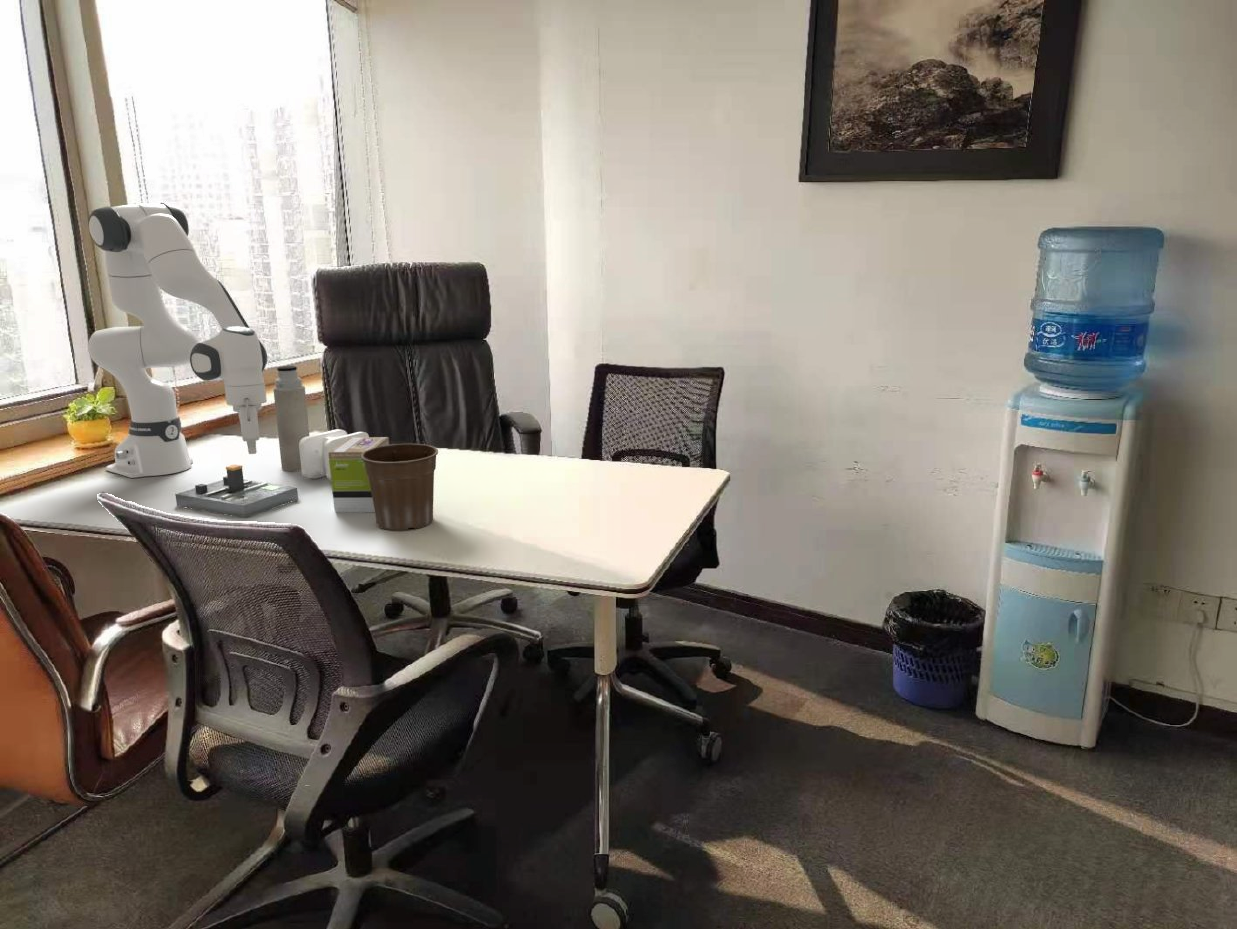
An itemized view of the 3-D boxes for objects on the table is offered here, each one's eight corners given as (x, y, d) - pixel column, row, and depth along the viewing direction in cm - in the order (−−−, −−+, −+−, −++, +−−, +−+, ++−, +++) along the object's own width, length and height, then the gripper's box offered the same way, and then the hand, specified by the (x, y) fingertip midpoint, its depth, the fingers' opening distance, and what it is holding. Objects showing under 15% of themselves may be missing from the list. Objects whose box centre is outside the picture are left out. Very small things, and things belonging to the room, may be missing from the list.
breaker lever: (225, 490, 201) (222, 467, 200) (239, 486, 205) (236, 463, 203) (234, 491, 200) (231, 468, 199) (247, 487, 204) (245, 464, 202)
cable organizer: (329, 486, 217) (324, 442, 214) (300, 481, 222) (296, 437, 219) (372, 473, 230) (369, 430, 227) (345, 468, 235) (341, 426, 232)
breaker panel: (176, 506, 201) (174, 487, 200) (232, 489, 215) (230, 471, 214) (245, 518, 192) (243, 498, 191) (298, 499, 206) (296, 480, 205)
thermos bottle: (300, 462, 241) (290, 363, 234) (318, 466, 237) (309, 365, 230) (275, 468, 234) (264, 367, 227) (294, 472, 230) (283, 369, 223)
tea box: (354, 494, 210) (349, 435, 206) (395, 494, 210) (390, 436, 206) (332, 513, 196) (327, 450, 192) (376, 513, 195) (371, 450, 192)
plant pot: (425, 536, 179) (420, 462, 175) (353, 532, 182) (347, 459, 178) (452, 513, 195) (449, 444, 191) (386, 510, 198) (381, 442, 194)
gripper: (262, 401, 194) (268, 460, 197) (259, 389, 212) (265, 443, 216) (231, 403, 192) (238, 463, 195) (231, 391, 210) (237, 446, 213)
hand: (252, 452), depth 205 cm, fingers closed
